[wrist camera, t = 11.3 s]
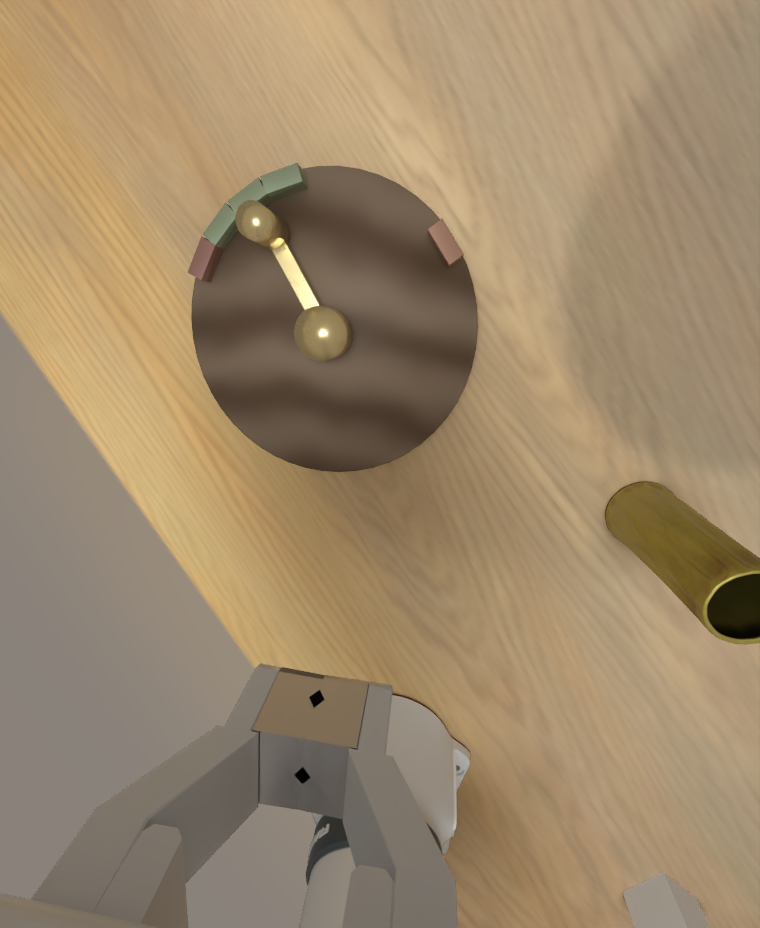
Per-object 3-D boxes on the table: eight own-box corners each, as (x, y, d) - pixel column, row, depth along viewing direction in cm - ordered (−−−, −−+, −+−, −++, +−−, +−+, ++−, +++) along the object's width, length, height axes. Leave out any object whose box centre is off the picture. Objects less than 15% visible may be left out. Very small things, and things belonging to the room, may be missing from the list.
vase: (591, 506, 39) (675, 598, 26) (653, 467, 38) (779, 543, 24) (627, 554, 40) (726, 667, 27) (690, 519, 39) (830, 619, 25)
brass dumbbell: (361, 344, 35) (352, 345, 31) (320, 367, 36) (306, 372, 32) (284, 197, 33) (262, 178, 29) (242, 226, 34) (215, 212, 29)
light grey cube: (696, 897, 52) (729, 967, 46) (654, 916, 54) (681, 986, 48) (662, 870, 51) (691, 938, 46) (621, 891, 53) (644, 958, 47)
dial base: (453, 479, 40) (455, 493, 37) (207, 449, 42) (188, 460, 39) (497, 185, 33) (505, 168, 30) (198, 166, 35) (173, 148, 32)
